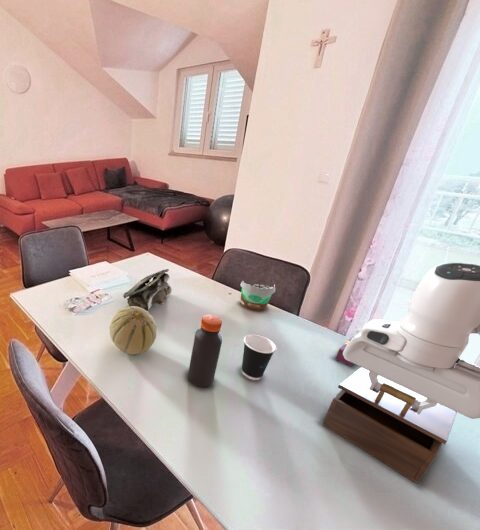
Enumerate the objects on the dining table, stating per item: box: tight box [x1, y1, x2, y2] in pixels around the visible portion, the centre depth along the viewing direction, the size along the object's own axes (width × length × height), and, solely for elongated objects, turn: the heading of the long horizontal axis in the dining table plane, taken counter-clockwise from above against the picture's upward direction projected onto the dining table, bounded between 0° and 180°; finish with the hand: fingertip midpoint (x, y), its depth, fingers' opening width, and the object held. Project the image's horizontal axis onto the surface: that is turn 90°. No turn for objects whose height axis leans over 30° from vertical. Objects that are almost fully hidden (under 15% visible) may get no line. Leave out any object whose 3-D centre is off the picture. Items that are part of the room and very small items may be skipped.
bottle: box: [187, 314, 223, 388], centre depth 84 cm, size 7×7×20 cm
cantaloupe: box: [109, 306, 157, 356], centre depth 98 cm, size 15×15×15 cm
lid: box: [337, 367, 458, 445], centre depth 68 cm, size 17×17×5 cm
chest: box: [321, 389, 443, 485], centre depth 71 cm, size 17×17×8 cm
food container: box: [239, 280, 276, 312], centre depth 121 cm, size 12×6×10 cm, turn 73°
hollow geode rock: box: [122, 268, 173, 312], centre depth 124 cm, size 28×13×15 cm
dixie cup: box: [241, 334, 277, 381], centre depth 88 cm, size 8×8×11 cm
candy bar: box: [335, 336, 355, 367], centre depth 97 cm, size 4×11×4 cm, turn 124°
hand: (393, 399), depth 64 cm, fingers closed on lid, 5 cm apart
